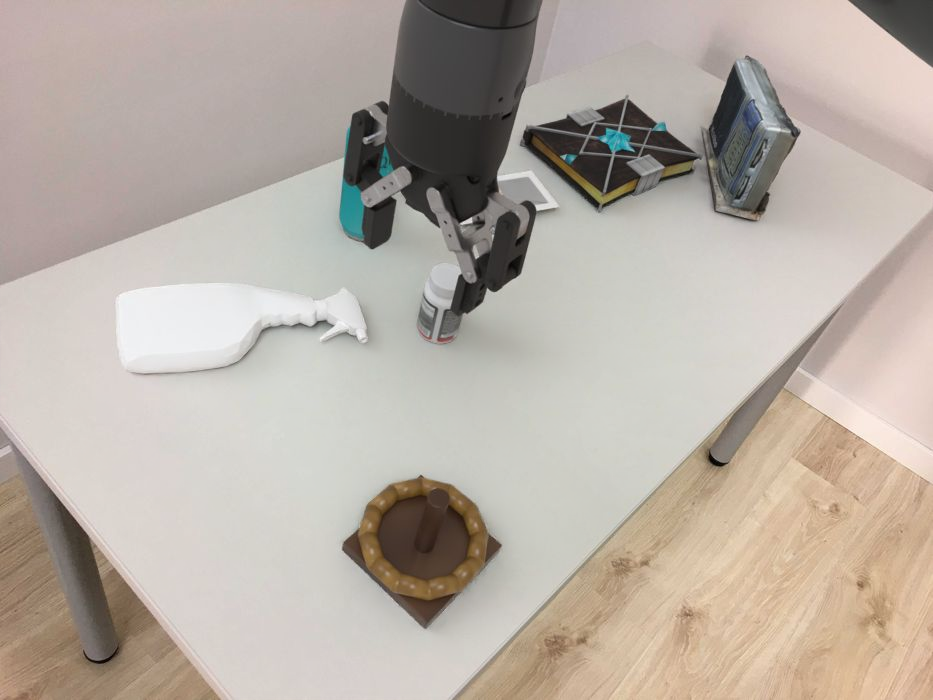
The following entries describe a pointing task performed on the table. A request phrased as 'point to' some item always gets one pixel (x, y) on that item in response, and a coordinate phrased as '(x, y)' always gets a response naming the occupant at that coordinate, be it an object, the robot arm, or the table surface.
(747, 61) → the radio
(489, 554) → the peg post
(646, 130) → the book
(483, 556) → the ring
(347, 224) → the beverage can
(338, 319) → the spray bottle
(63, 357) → the table surface
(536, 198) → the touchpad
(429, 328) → the pill bottle
